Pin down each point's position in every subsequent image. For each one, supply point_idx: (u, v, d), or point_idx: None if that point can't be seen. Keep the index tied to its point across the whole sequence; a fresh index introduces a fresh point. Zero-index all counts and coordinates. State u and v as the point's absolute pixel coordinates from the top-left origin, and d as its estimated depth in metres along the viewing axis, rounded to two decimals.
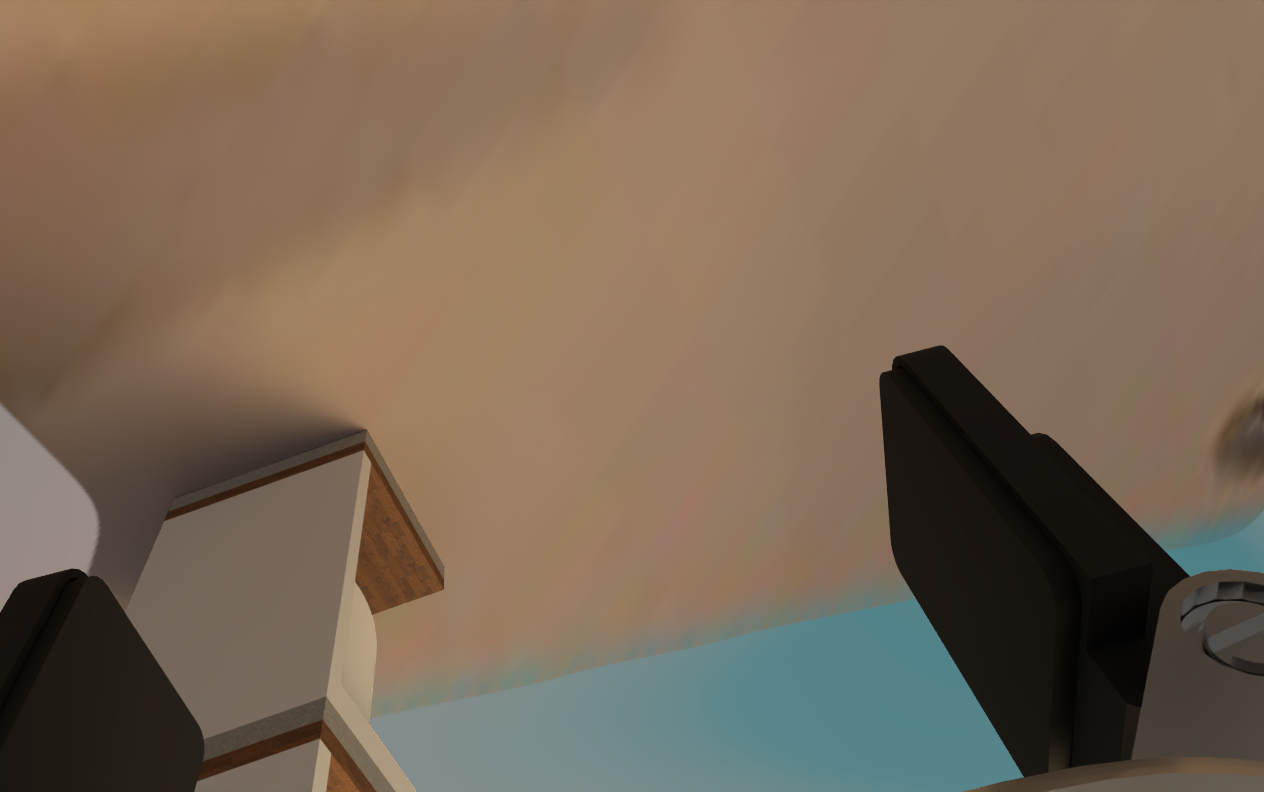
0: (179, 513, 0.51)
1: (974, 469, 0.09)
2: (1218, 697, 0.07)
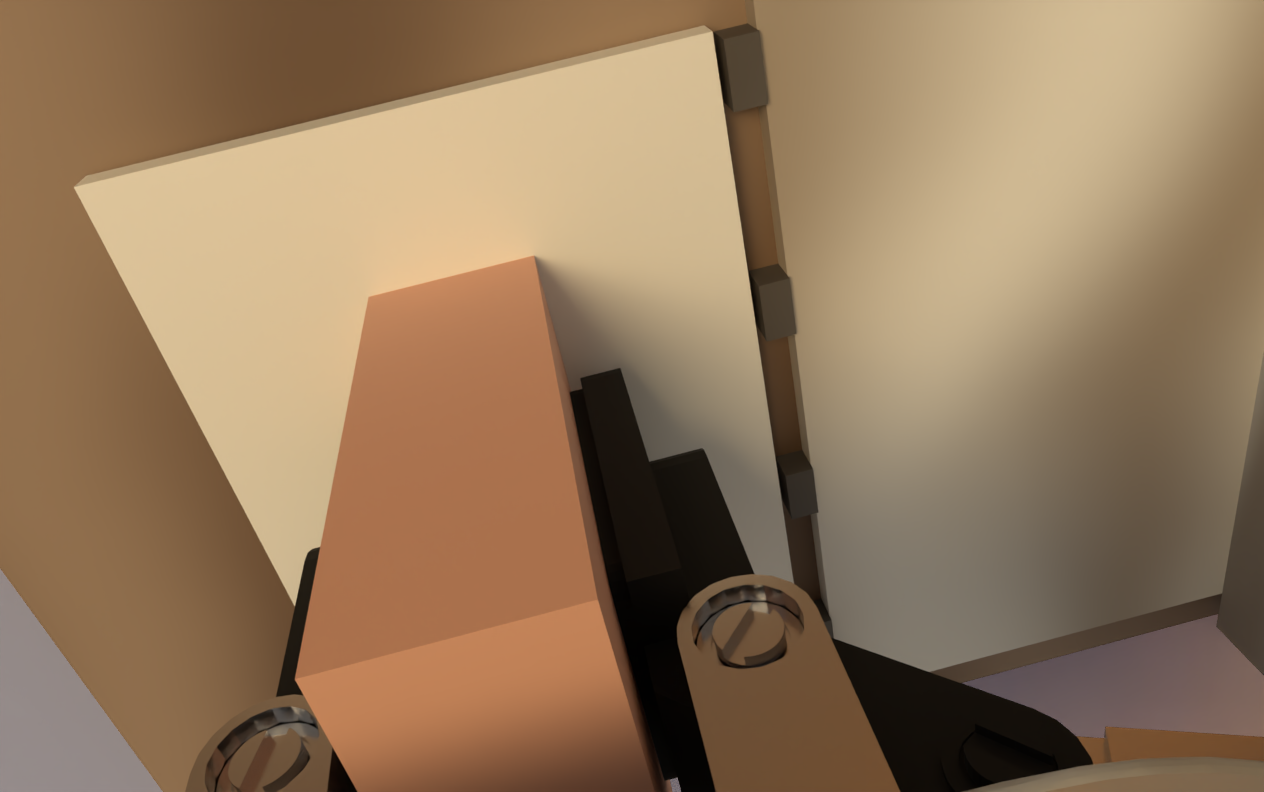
0: None
1: (593, 483, 0.10)
2: (751, 698, 0.07)
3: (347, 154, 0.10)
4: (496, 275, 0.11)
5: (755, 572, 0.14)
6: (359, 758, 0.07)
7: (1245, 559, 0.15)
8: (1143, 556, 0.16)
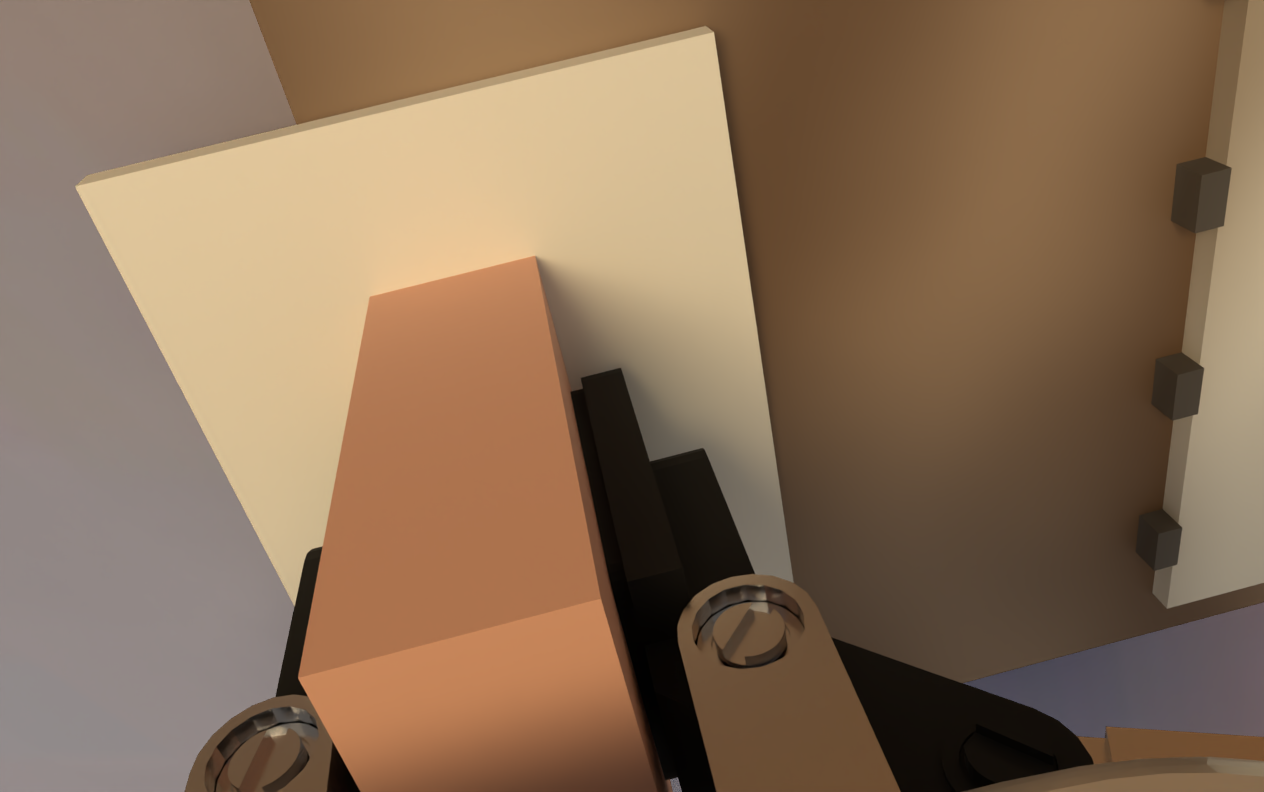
0: None
1: (594, 483, 0.10)
2: (751, 698, 0.07)
3: (349, 154, 0.10)
4: (497, 275, 0.11)
5: (755, 573, 0.14)
6: (362, 758, 0.07)
7: None
8: None
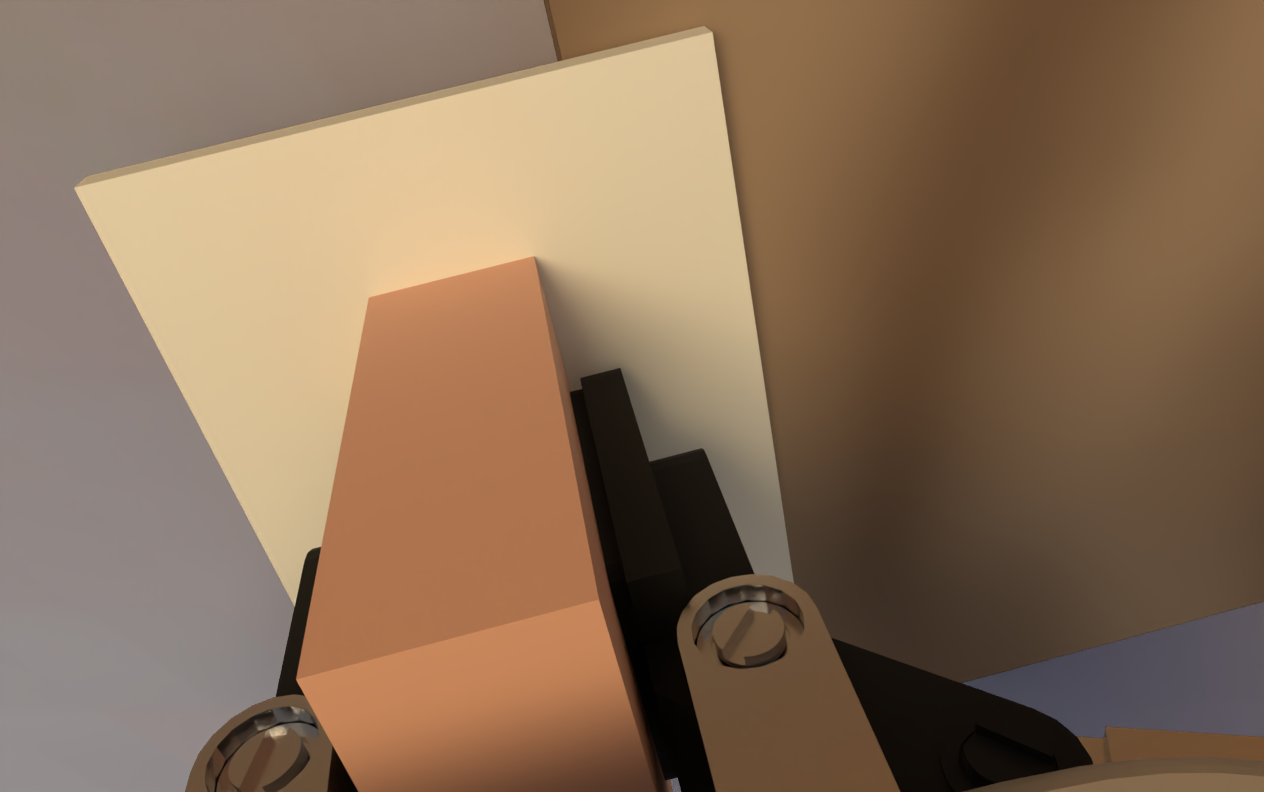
0: None
1: (594, 483, 0.10)
2: (751, 698, 0.07)
3: (347, 155, 0.10)
4: (496, 276, 0.11)
5: (755, 573, 0.14)
6: (359, 759, 0.07)
7: None
8: None
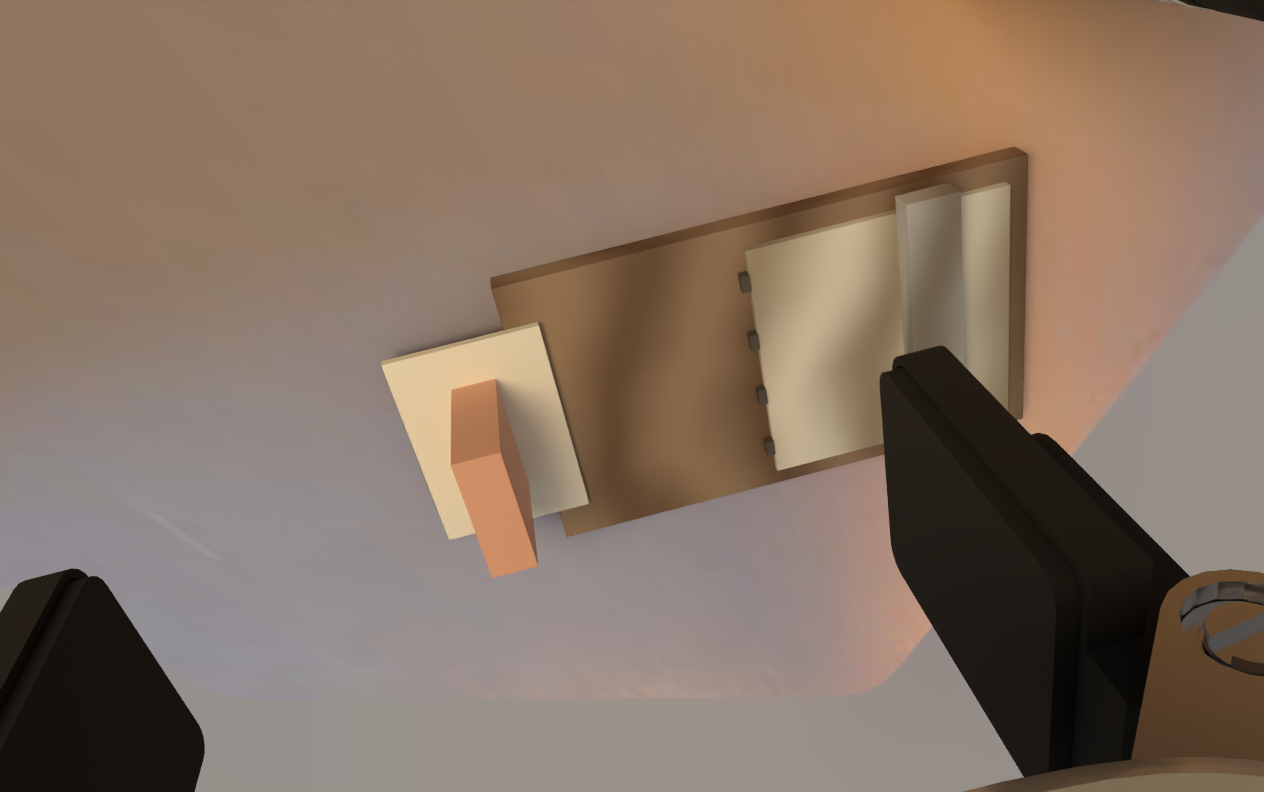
0: None
1: (974, 469, 0.09)
2: (1218, 697, 0.07)
3: (447, 356, 0.42)
4: (485, 384, 0.42)
5: (567, 470, 0.46)
6: (460, 481, 0.38)
7: None
8: (877, 422, 0.47)
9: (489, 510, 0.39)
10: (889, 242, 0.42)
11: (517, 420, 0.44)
